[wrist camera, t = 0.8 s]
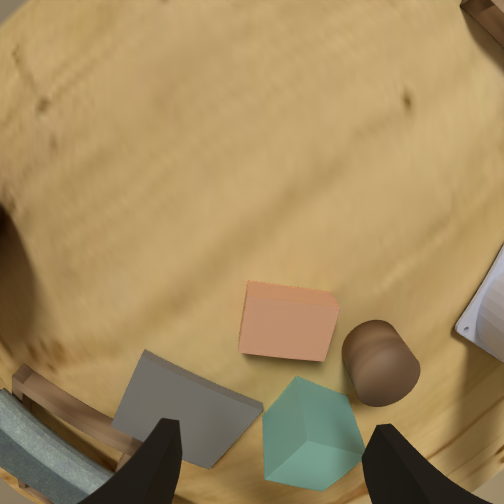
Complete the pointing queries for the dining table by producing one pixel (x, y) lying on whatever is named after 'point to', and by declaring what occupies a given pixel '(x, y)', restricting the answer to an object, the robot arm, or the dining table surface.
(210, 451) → the slate coaster
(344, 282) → the dining table surface
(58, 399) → the brown wooden frame
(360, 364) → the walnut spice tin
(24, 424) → the aluminum foil
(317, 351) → the terracotta box
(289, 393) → the teal block
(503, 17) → the block pen rim
